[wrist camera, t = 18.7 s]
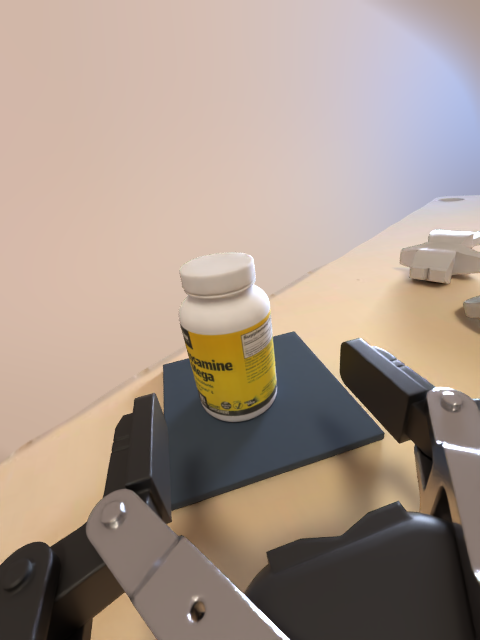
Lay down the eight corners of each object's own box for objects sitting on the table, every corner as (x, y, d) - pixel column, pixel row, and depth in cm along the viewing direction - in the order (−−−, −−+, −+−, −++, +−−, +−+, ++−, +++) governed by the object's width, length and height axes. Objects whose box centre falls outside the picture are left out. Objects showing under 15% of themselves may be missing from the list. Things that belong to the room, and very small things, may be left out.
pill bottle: (186, 401, 23) (146, 271, 18) (238, 362, 26) (218, 245, 21) (241, 441, 19) (210, 288, 14) (293, 388, 22) (285, 252, 17)
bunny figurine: (388, 253, 37) (427, 216, 45) (386, 287, 40) (423, 247, 48) (478, 261, 31) (506, 217, 39) (468, 301, 34) (496, 252, 41)
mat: (167, 512, 16) (164, 506, 16) (164, 369, 28) (163, 364, 28) (384, 439, 18) (385, 432, 18) (294, 335, 30) (294, 331, 30)
